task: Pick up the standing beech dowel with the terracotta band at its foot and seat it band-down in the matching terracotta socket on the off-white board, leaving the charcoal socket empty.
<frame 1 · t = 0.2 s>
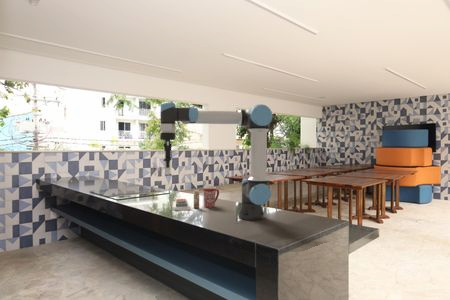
hand: (167, 173, 156), 28 cm above the table, fingers open, 13 cm apart
mug: (211, 206, 210), on the table
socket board: (181, 206, 208), on the table
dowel: (196, 208, 204), on the table
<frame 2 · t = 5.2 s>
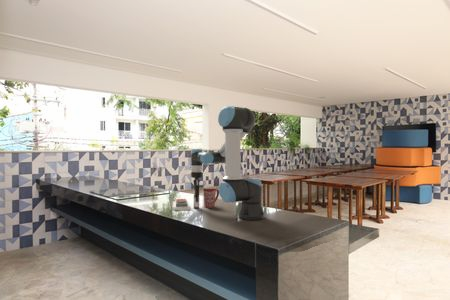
hand: (196, 205, 204), 2 cm above the table, fingers closed on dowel, 4 cm apart
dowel: (196, 208, 204), on the table, touching gripper
everything else where it was.
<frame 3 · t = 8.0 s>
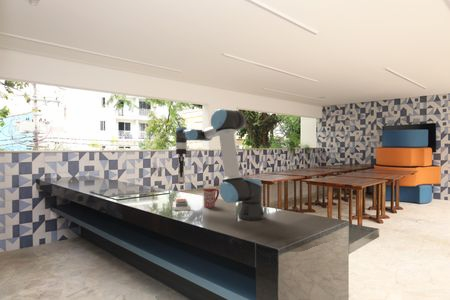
hand: (181, 181, 213), 17 cm above the table, fingers closed on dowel, 4 cm apart
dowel: (181, 183, 213), point 16 cm above the table, touching gripper
everything else where it was.
when the fingers open (5 cm above the table, at t = 10.7 s): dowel drops 1 cm, resting on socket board.
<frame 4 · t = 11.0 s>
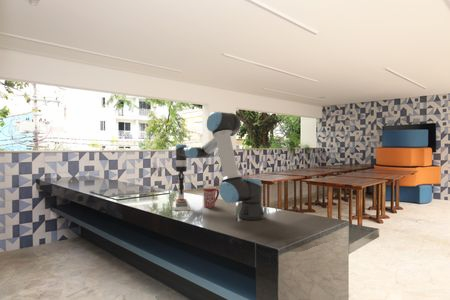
hand: (181, 197, 213), 5 cm above the table, fingers open, 8 cm apart
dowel: (181, 202, 213), point 2 cm above the table, touching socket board
everything else where it was.
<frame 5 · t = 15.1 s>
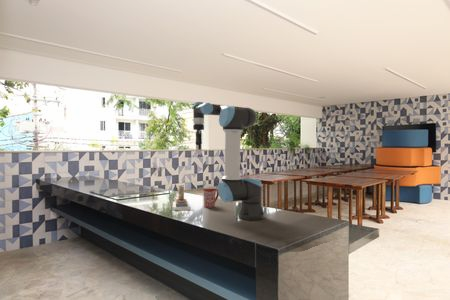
hand: (198, 154, 212), 37 cm above the table, fingers open, 13 cm apart
nothing on the table moved.
at the end: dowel 0.0 cm from the target spot on the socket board, point 2.0 cm above the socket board's base; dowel tilted 1°; the gripper is holding nothing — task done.
